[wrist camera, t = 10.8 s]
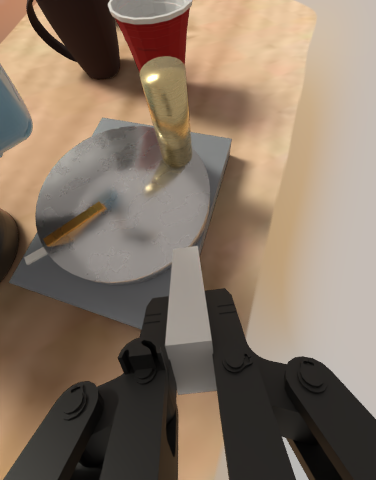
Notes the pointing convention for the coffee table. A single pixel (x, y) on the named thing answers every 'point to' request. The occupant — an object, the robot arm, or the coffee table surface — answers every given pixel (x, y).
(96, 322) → the coffee table surface
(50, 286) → the stand
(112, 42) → the mug
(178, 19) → the plastic cup
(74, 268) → the silver disc with stripe
